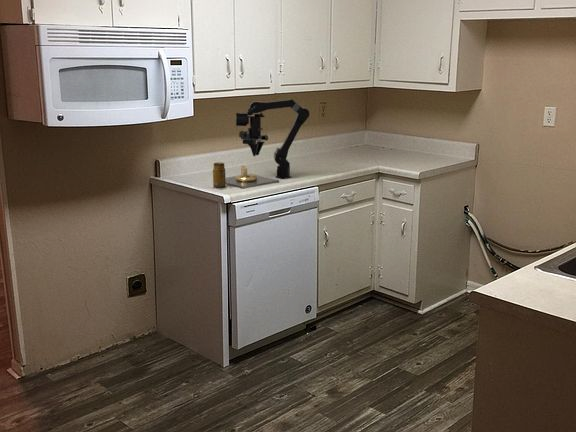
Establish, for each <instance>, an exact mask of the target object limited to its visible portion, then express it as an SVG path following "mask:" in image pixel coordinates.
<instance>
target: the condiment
mask: <svg viewBox="0 0 576 432" xmlns="http://www.w3.org/2000/svg"><path fill="white" fill-rule="evenodd" d="M225 178H226V168H225V163H224V162H214V163H213V170H212V184H213V185H212V186H211V185H210V188H214V189H219V190H225V189H229V188H231V186H230V185H226V182H225Z"/></svg>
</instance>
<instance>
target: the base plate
mask: <svg viewBox="0 0 576 432" xmlns="http://www.w3.org/2000/svg"><path fill="white" fill-rule="evenodd" d="M247 175H254V174H252V173H247ZM255 175H256V174H255ZM236 176H237V175H233V176H229V177H225V182H226V185H225V186H229V187H235V188H237V189H249V188H255V187H259V186H260V187H261V186H265V185H271V184H277V183H280V180H279V179H275V178H270V177H266V176H261V175H256V176H257V180H255V181H237V180H236Z"/></svg>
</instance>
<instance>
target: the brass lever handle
mask: <svg viewBox="0 0 576 432" xmlns="http://www.w3.org/2000/svg"><path fill="white" fill-rule="evenodd" d="M240 168H241V169H240V174H238V175H235V176H236V180H237V181H255V180H257V176H258V175H257V176H256V174H253V175H247V174H248V167H247V166H245V165H241V166H240Z"/></svg>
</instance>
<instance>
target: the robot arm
mask: <svg viewBox="0 0 576 432" xmlns="http://www.w3.org/2000/svg"><path fill="white" fill-rule="evenodd" d="M283 108H290V109H292V110H293V111H294V112H295V118H294V121H293V124H292V126H291V127H290V129H289V132H288V133H287V136H286V137H285V139H284V141H283V143H282V144H281V146H280V147H278V146H277V147H276V149H275V151H274V153H273V160H274V161H275V163H276V164H277V166H276V167H277V168H276V175H275V178H276V179H282V180H285V179H291V178H292V176H291V173H290V172H291V170H290V168H291V166H290V165H291V163H290V162H289V161H288V159H287V157H288V153H289V150H290V147H291V146H292V144H293V142H294V140H295V138H296V136H297V134H298V132H299V130H300V128H301V127H302V126H303V125H304V124H305V122H306V121H307V120H308V118H309V117H310V111H309V110H308V108H306V107H302V106H300V105H299V104H298V103H297V102H296V101H295V100H294V99H292V98H288V99H283V100H273V101H258V100H255V101H251V103H250V104H249V108H248V109H247V111H246V112H236V113H235V126H236V127H247V126H248V125H249V127H248V128H247V131H244V130H240V131H239V133H238V138H240V140H241V141H242V144H243V145H248V146H249V147H250V150H251V153H252V156H253V157H256V156H259V155H260V152H261V150H262V148H263V146H264V144H265V142H266V141H269V136H268V135H267V134H262V130H263V127H262V118H265V115H264V114H263V112H265V111H267V110H268V111H269V110H274V109H283Z"/></svg>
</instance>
